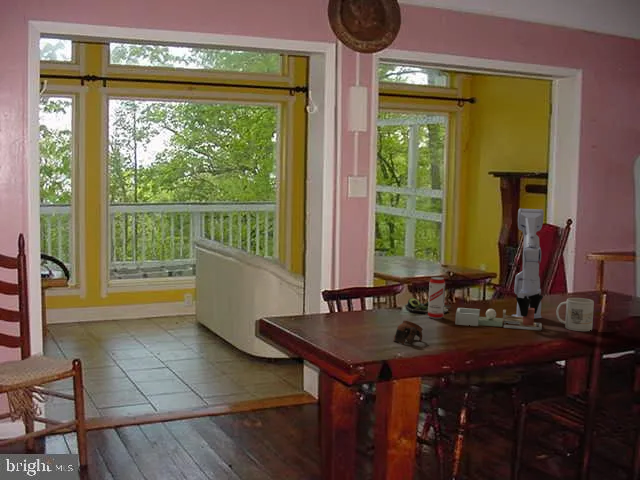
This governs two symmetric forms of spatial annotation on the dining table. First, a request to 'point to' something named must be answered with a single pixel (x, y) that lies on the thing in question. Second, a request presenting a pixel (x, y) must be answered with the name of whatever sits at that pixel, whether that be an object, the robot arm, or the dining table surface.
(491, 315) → the ball
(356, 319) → the dining table surface
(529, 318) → the carriage
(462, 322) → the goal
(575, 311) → the mug
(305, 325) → the dining table surface
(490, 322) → the track
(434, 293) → the beer can
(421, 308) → the salad plate
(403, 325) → the brown animal figurine
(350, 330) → the dining table surface
